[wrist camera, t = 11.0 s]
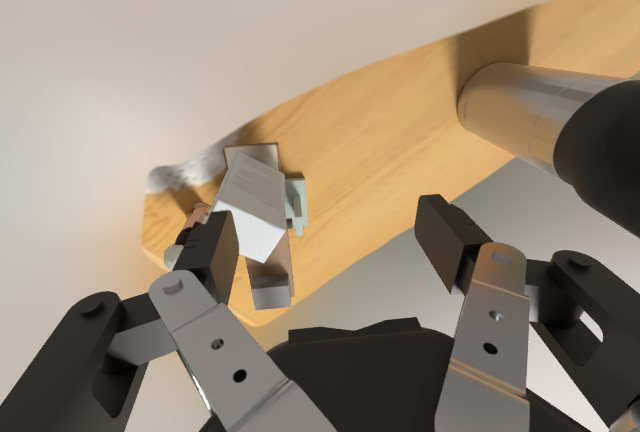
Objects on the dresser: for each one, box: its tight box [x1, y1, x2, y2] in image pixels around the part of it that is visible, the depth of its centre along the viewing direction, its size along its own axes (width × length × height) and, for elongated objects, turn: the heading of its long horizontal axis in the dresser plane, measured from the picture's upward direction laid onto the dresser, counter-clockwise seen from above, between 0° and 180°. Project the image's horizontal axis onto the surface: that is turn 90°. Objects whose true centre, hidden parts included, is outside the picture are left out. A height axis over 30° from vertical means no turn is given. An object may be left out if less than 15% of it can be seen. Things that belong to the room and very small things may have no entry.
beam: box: [223, 142, 294, 310], centre depth 39 cm, size 7×23×5 cm, turn 2°
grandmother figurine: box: [164, 202, 211, 272], centre depth 40 cm, size 8×4×13 cm, turn 147°
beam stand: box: [285, 177, 308, 236], centre depth 43 cm, size 12×8×7 cm, turn 92°
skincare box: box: [205, 151, 286, 263], centre depth 29 cm, size 6×4×12 cm
